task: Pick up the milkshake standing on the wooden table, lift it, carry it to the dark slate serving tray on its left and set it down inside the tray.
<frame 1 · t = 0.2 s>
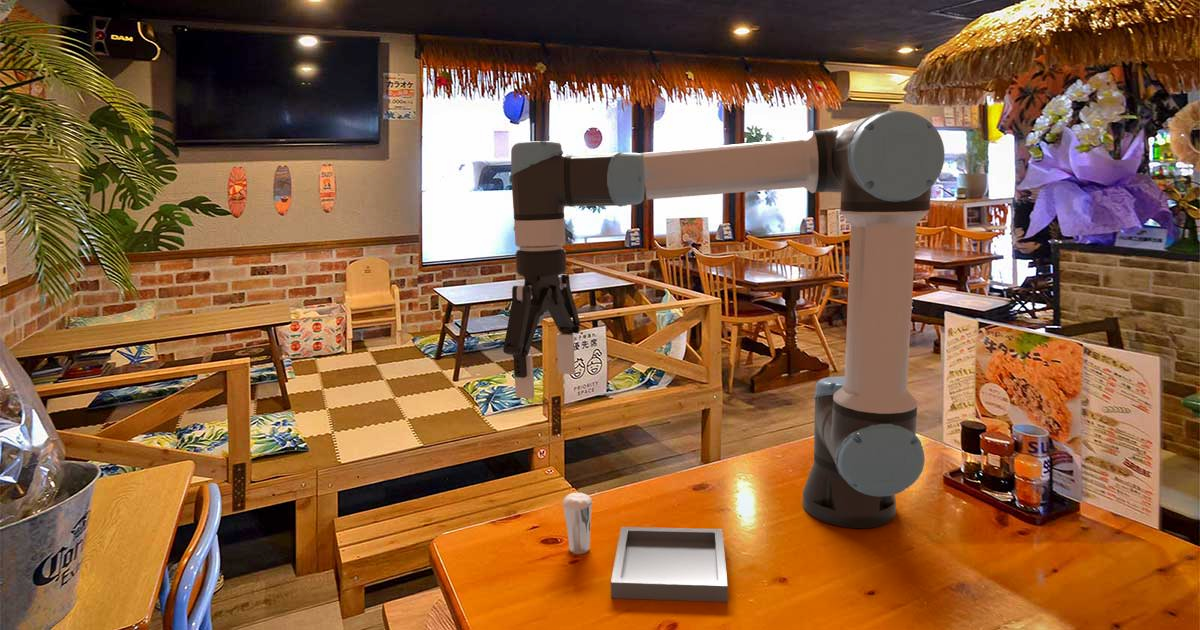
hand: (546, 384, 111), 26 cm above the table, tool pointing down, fingers open, 13 cm apart
slate tray: (670, 568, 106), on the table
milkshake: (582, 550, 113), on the table
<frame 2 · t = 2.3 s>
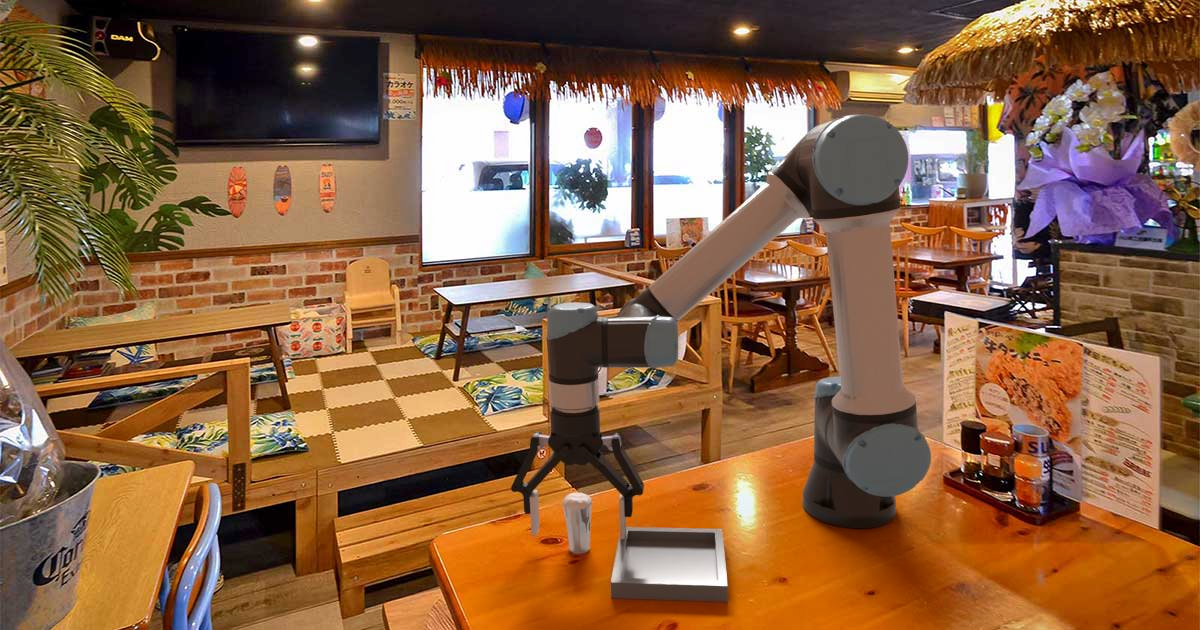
hand: (579, 534, 112), 3 cm above the table, tool pointing down, fingers open, 13 cm apart
nothing on the table moved.
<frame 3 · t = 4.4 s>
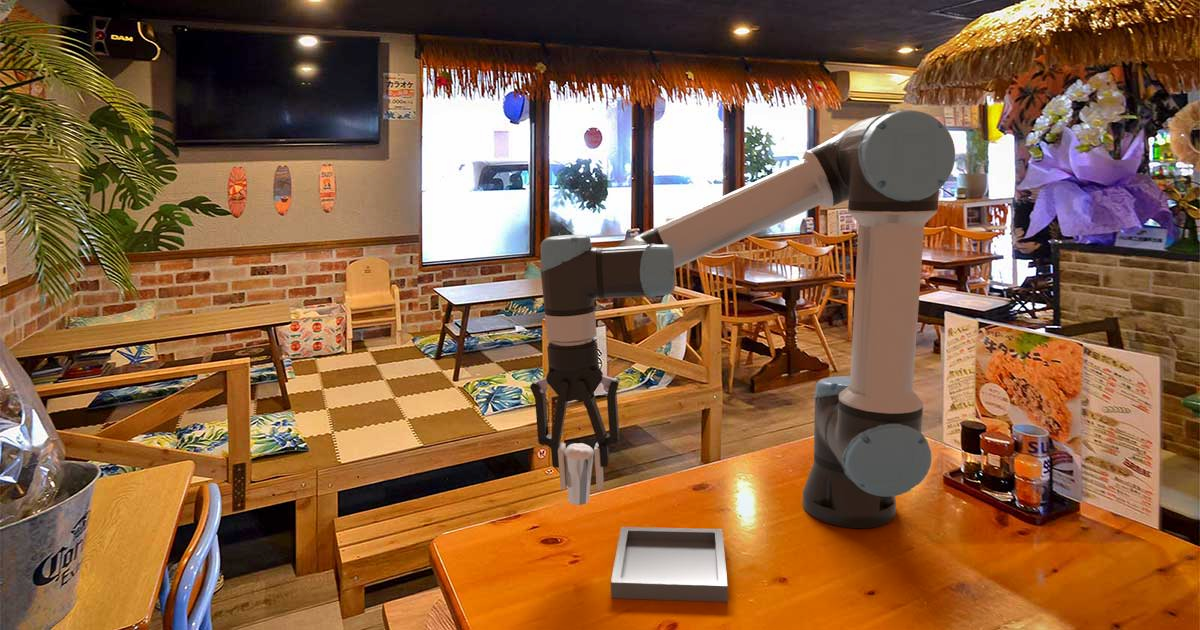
hand: (582, 485, 111), 11 cm above the table, tool pointing down, fingers closed on milkshake, 5 cm apart
milkshake: (581, 502, 111), point 8 cm above the table, touching gripper
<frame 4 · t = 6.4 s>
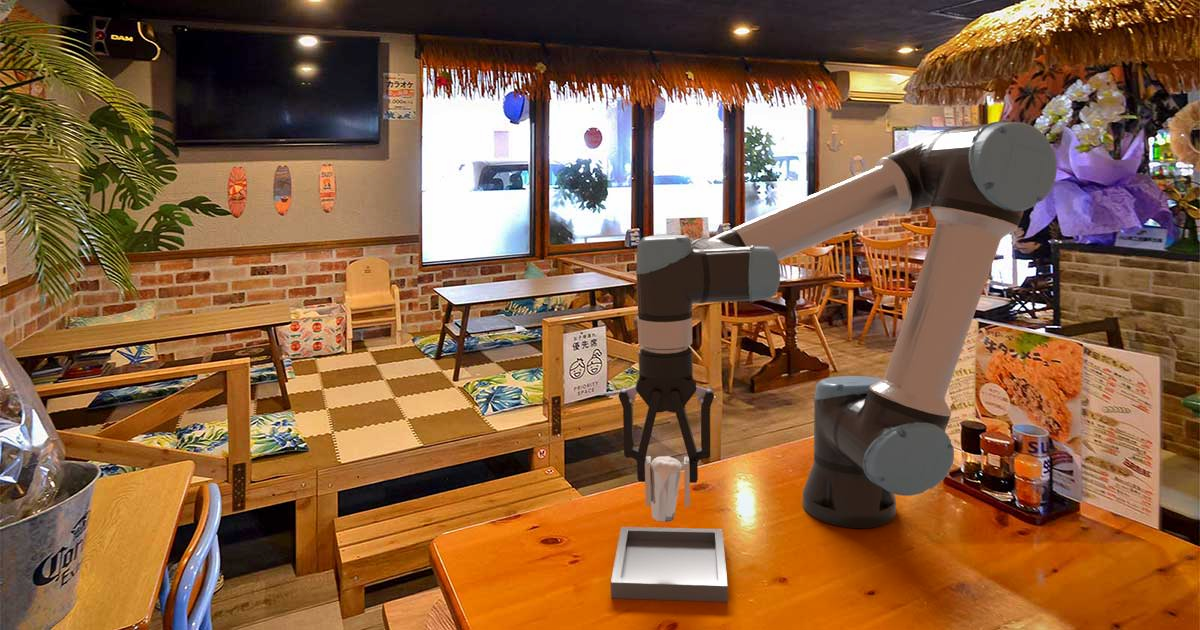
hand: (668, 501, 104), 11 cm above the table, tool pointing down, fingers closed on milkshake, 5 cm apart
milkshake: (665, 518, 105), point 8 cm above the table, touching gripper
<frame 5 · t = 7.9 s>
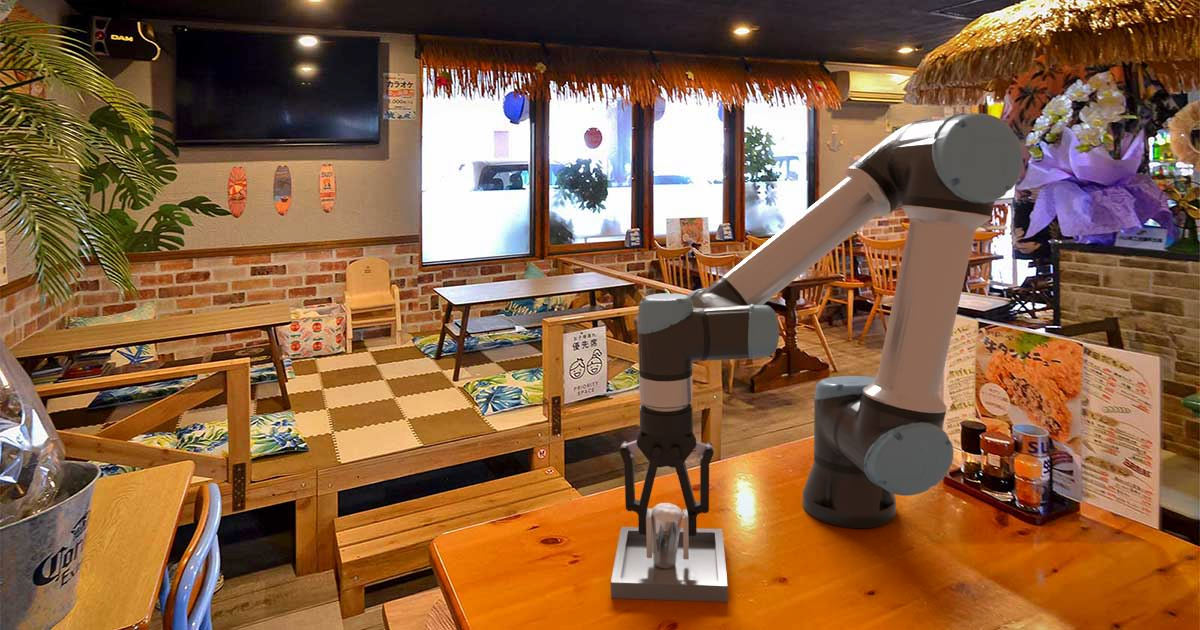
hand: (667, 553, 106), 2 cm above the table, tool pointing down, fingers closed on milkshake, 5 cm apart
milkshake: (666, 564, 106), point 1 cm above the table, touching gripper, slate tray
when the fingers open (2 cm above the table, at t = 8.5 s): milkshake stays where it is, resting on slate tray.
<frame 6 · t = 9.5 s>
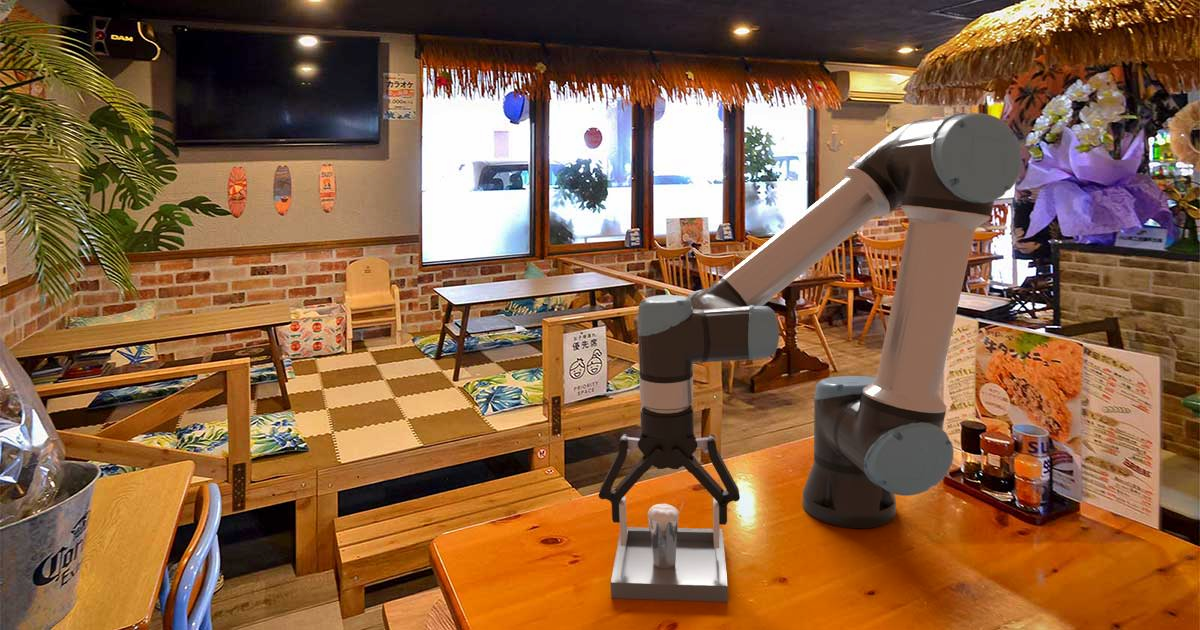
hand: (669, 542, 105), 4 cm above the table, tool pointing down, fingers open, 13 cm apart
milkshake: (666, 565, 106), point 1 cm above the table, touching slate tray
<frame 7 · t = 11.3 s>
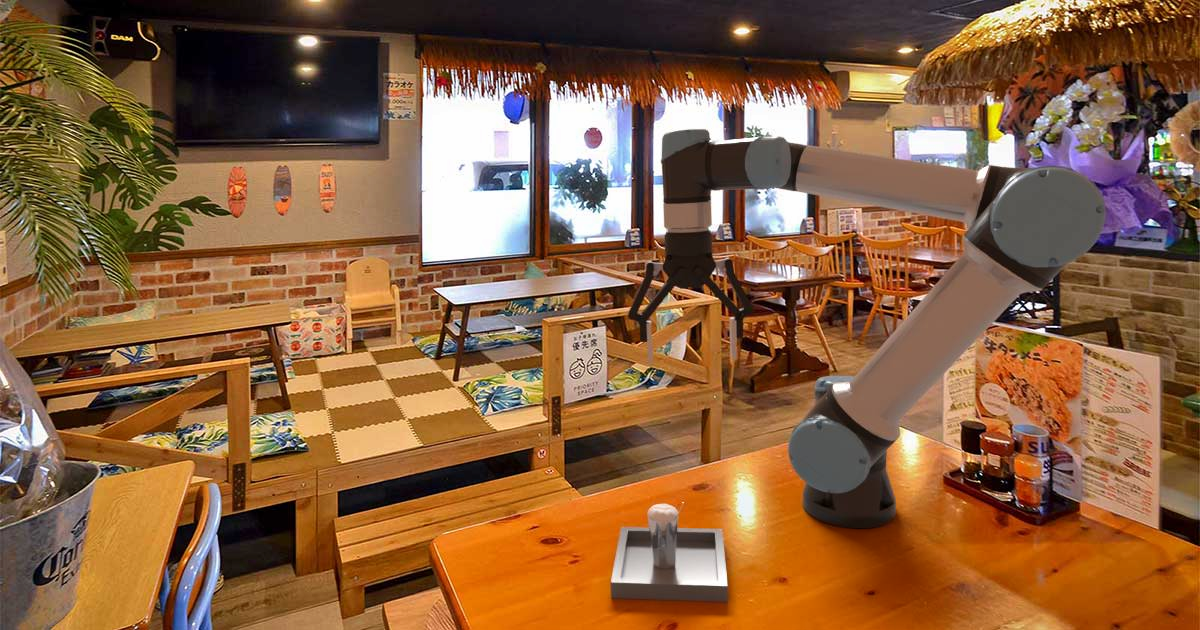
hand: (691, 359, 117), 28 cm above the table, tool pointing down, fingers open, 13 cm apart
nothing on the table moved.
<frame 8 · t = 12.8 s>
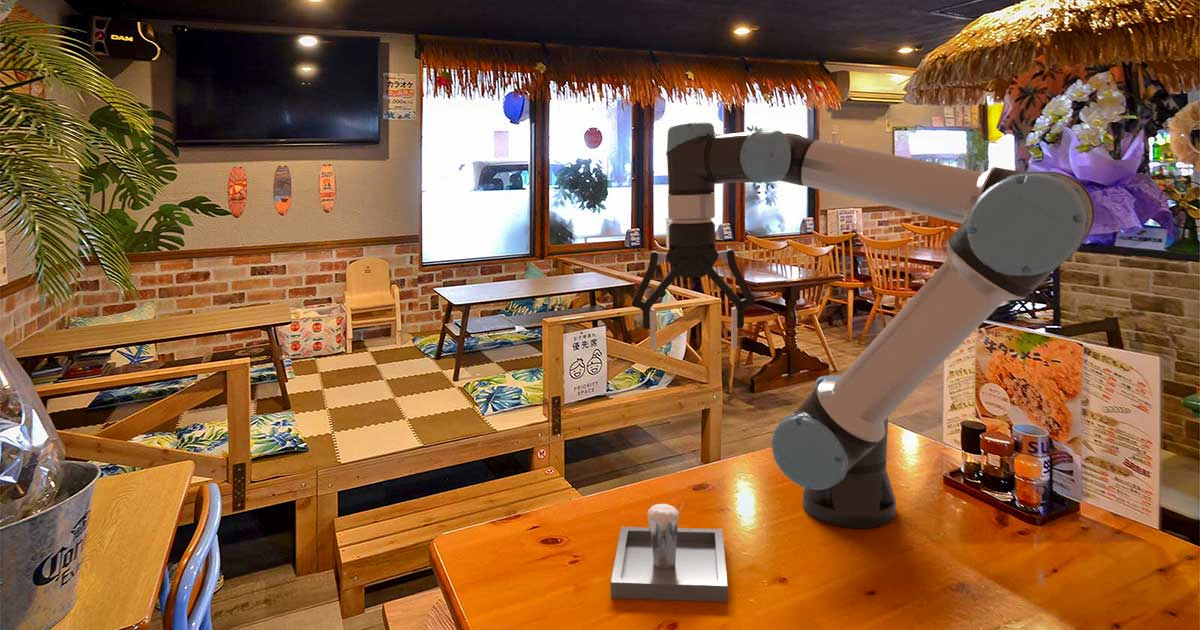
hand: (693, 347, 121), 29 cm above the table, tool pointing down, fingers open, 13 cm apart
nothing on the table moved.
at the end: milkshake inside the target area on the slate tray (0.5 cm from its centre), point 0.6 cm above the slate tray's base; the gripper is holding nothing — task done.
